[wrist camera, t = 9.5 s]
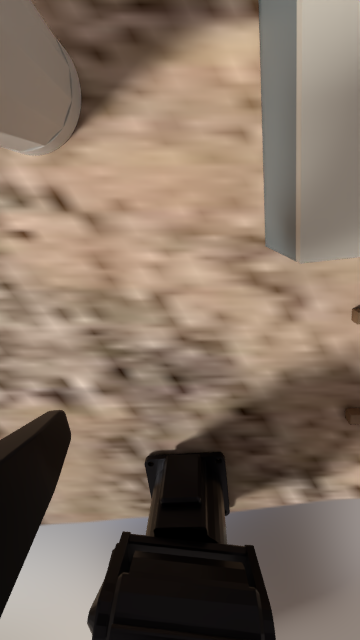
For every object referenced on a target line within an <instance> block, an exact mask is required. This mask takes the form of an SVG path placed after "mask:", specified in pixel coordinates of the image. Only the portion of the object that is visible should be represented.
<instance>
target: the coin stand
mask: <svg viewBox="0 0 360 640" xmlns="http://www.w3.org/2000/svg"><path fill="white" fill-rule="evenodd" d="M352 321H353V322H355V323H356V324H360V308H356V309H352ZM345 418H346V419H347V421H348V422H349V424H350V425H352V424H360V408H348V409H346V413H345Z"/></svg>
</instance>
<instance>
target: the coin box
mask: <svg viewBox="0 0 360 640" xmlns="http://www.w3.org/2000/svg"><path fill="white" fill-rule="evenodd" d="M259 30H260V65H261V100H262V136H263V171H264V206H265V241H266V247H268V248H270V249H272V250H274V251H276V252H278V253H280V254H282V255H284V256H286V257H288V258H290V259H292V260H294V261H296V262H298V263H309V262H319V261H328V260H337V259H346V258H356V257H360V0H259Z"/></svg>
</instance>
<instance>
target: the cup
mask: <svg viewBox="0 0 360 640" xmlns="http://www.w3.org/2000/svg"><path fill="white" fill-rule="evenodd" d="M80 110H81V87H80V82H79V78H78V74H77V71H76V68H75V66H74V64H73V61H72V59H71V58H70V56H69V54H68V53H67V51H66V50H65V48H64V47H63V46H62V45H61V43H60V42H59V41H58V40H57V38H56V37H55V36H54V35H53V33H52V32H51V30H50V28H49V27H48V25H47V24H46V22H45V21H44V19H43V18H42V16H41V15H40V13H39V12H38V10H37V9H36V7H35V6H34V4H33V3H32V1H31V0H0V147H2V148H6V149H9V150H12V151H15V152H18V153H21V154H25V155H32V156H37V155H44V154H48V153H51V152H53V151H55V150H57V149H58V148H60V147H61V146H62V145H63V144H64V143H65V142H66V141H67V140H68V139H69V138H70V136H71V135H72V133H73V131H74V129H75V127H76V125H77V122H78V119H79V115H80Z"/></svg>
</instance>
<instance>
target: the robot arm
mask: <svg viewBox="0 0 360 640" xmlns="http://www.w3.org/2000/svg"><path fill="white" fill-rule="evenodd" d="M70 441H71V431H70V428H69V424H68V421H67V417H66V414H65V412H64V411H62V410H54V411H48V412H47V413H45V414H43V415H41V416H40V417H38V418H36V419H35V420H33V421H31V422H30V423H28V424H26V425H25V426H23V427H21V428H20V429H18V430H16V431H15V432H13V433H11V434H10V435H8V436H6V437H5V438H3V439H1V440H0V617H1V615H2V613H3V610H4V608H5V605H6V603H7V601H8V599H9V596H10V594H11V592H12V589H13V587H14V585H15V582H16V580H17V578H18V575H19V573H20V571H21V568H22V566H23V564H24V561H25V559H26V557H27V554H28V552H29V550H30V547H31V545H32V543H33V540H34V538H35V536H36V533H37V531H38V529H39V526H40V524H41V522H42V519H43V517H44V515H45V512H46V510H47V508H48V505H49V503H50V501H51V498H52V496H53V493H54V491H55V488H56V485H57V482H58V479H59V476H60V473H61V470H62V466H63V463H64V460H65V457H66V454H67V450H68V447H69V444H70ZM218 458H219V460H217V459H218ZM150 462H153V463H150ZM145 468H146V473H147V478H148V483H149V488H150V493H151V498H152V501H151V507H150V513H149V519H148V525H147V531H146V535H136V534H131V532H123V533H122V535H121V539H120V542H119V543H117V544H116V547H115V549H114V550H113V551H112V555H111V558H110V562H109V567H108V570H107V573H106V576H105V579H104V582H103V584H102V586H101V588H100V590H99V592H98V594H97V596H96V598H95V600H94V602H93V604H92V606H91V608H90V611H89V615H88V622H87V624H88V626H89V628H90V631H91V633H92V635H93V636H92V640H276V638H275V630H274V622H273V616H272V610H271V606H270V602H269V599H268V595H267V591H266V588H265V585H264V581H263V577H262V574H261V570H260V567H259V563H258V560H257V556H256V553H255V549H254V546H253V545H245V546H238V545H228V544H227V536H226V524H225V516H227V515H228V514H229V512H230V510H229V499H228V488H227V477H226V466H225V457H224V455H223V453H220V452H212V453H192V454H172V455H152V456H148V457H147V458H146V460H145Z"/></svg>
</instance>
